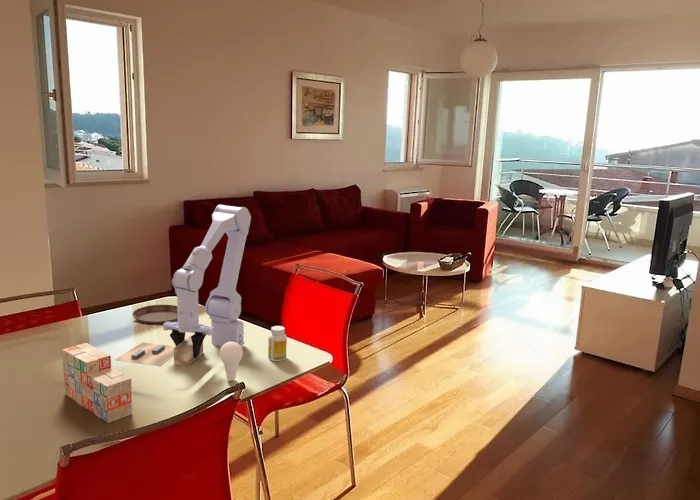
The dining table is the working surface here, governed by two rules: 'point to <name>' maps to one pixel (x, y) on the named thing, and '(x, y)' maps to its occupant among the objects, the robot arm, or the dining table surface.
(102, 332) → the dining table surface
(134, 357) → the grey rectangular block
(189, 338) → the block
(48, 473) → the dining table surface
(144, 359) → the oak board
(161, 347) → the small gray block
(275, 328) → the supplement bottle
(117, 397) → the stack of blocks
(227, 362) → the lightbulb
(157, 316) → the plant saucer
